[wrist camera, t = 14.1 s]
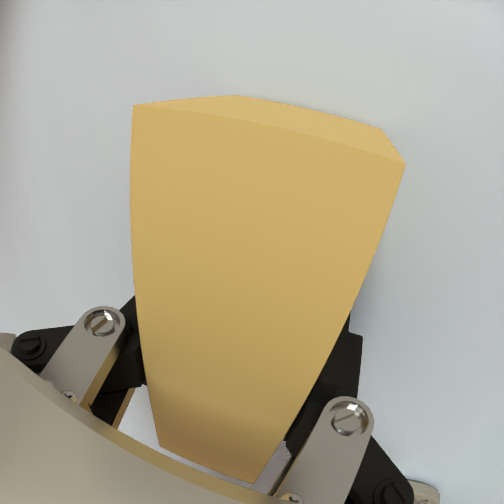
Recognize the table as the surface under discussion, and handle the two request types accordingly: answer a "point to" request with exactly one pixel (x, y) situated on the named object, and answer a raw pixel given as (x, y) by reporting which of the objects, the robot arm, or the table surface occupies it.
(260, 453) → the mustard wooden brick
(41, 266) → the table surface
